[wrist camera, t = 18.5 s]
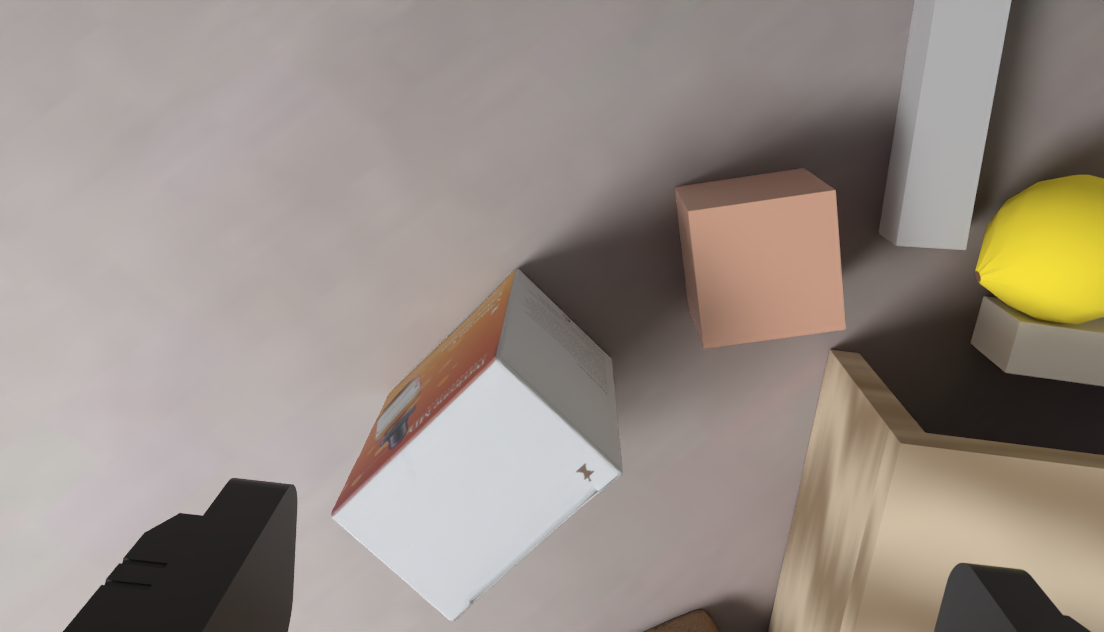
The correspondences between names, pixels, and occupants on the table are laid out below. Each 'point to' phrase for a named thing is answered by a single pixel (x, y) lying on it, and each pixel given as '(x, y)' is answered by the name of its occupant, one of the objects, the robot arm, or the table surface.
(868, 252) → the table surface
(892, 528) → the cubby
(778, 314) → the terracotta block
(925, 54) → the grey stick
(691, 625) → the candle holder
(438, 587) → the small box
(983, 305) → the white bar
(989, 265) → the lemon
